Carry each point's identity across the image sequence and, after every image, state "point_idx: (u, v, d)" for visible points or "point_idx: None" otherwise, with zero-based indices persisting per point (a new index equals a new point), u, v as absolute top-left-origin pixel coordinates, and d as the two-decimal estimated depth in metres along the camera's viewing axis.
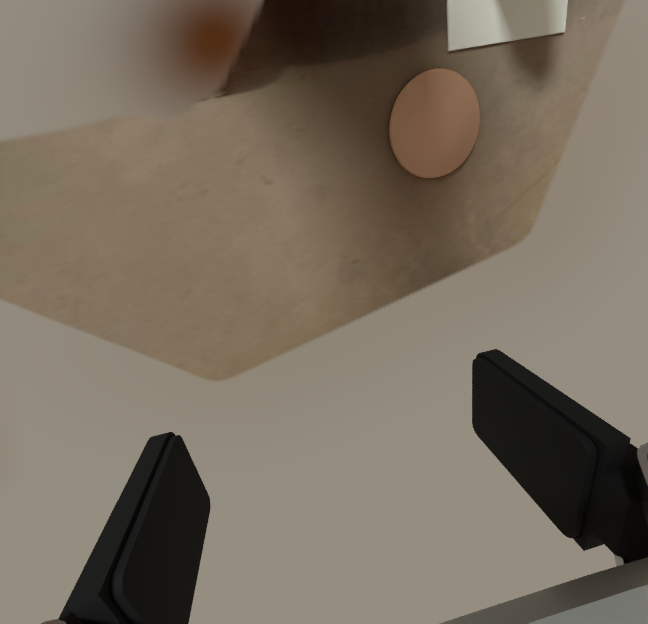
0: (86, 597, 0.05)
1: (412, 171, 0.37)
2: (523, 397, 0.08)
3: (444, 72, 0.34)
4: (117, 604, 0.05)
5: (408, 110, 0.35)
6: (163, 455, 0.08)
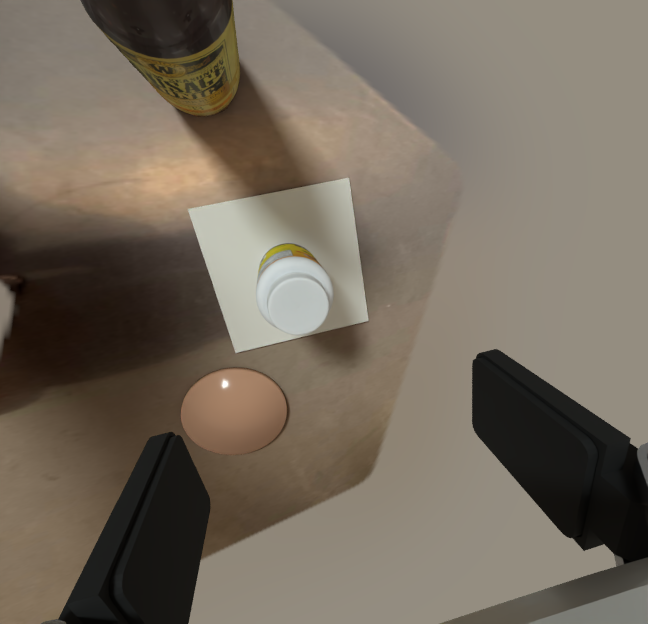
0: (86, 597, 0.05)
1: (218, 452, 0.34)
2: (523, 397, 0.08)
3: (232, 373, 0.31)
4: (117, 604, 0.05)
5: (199, 408, 0.32)
6: (163, 455, 0.08)
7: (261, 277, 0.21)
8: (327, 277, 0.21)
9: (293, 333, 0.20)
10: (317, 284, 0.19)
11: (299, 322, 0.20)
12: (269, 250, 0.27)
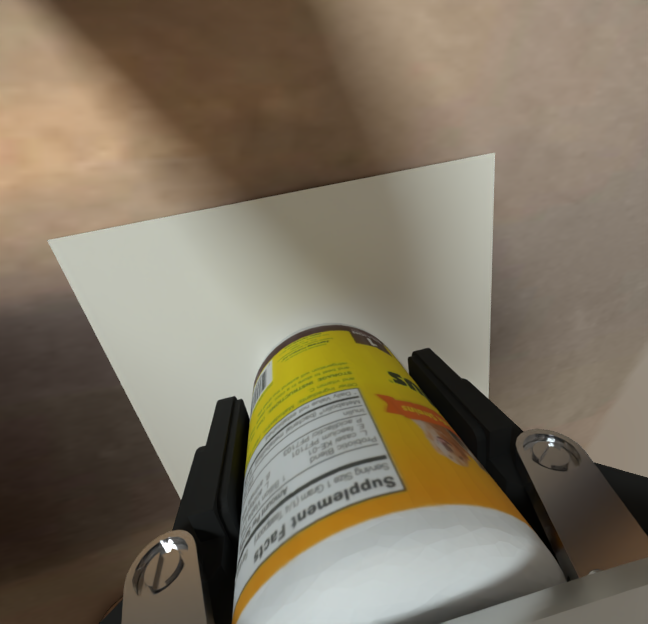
0: (202, 511, 0.06)
1: None
2: (438, 391, 0.08)
3: None
4: (223, 521, 0.06)
5: None
6: (233, 413, 0.09)
7: None
8: None
9: None
10: None
11: None
12: (281, 347, 0.10)
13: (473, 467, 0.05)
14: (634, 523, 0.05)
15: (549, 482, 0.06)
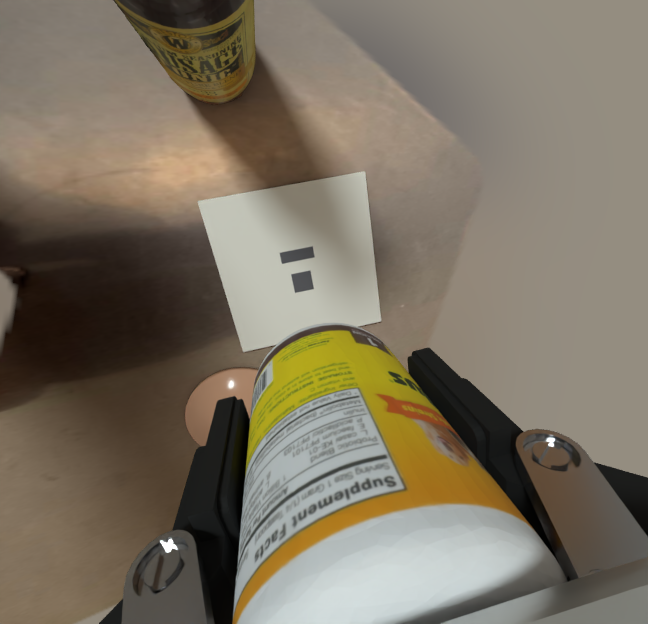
0: (202, 511, 0.06)
1: None
2: (438, 391, 0.08)
3: (239, 373, 0.30)
4: (223, 521, 0.06)
5: (204, 408, 0.31)
6: (234, 413, 0.09)
7: None
8: None
9: None
10: None
11: None
12: (281, 347, 0.10)
13: (473, 467, 0.05)
14: (634, 523, 0.05)
15: (549, 482, 0.06)
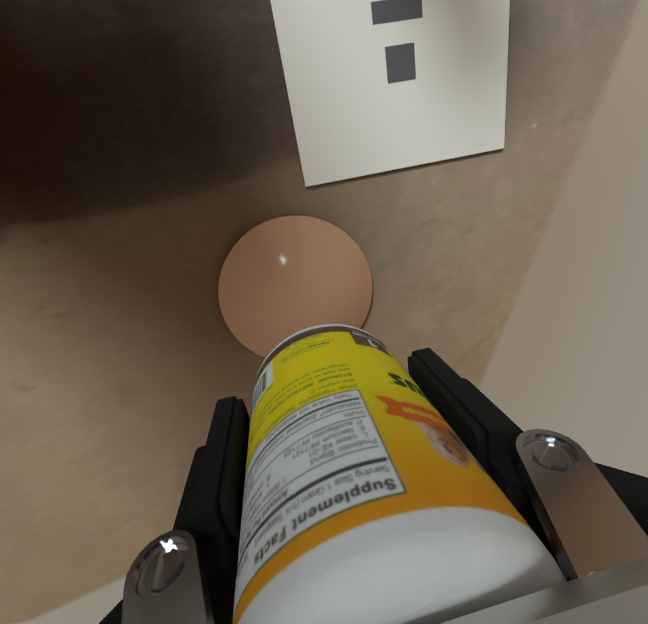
0: (202, 511, 0.06)
1: None
2: (438, 391, 0.08)
3: (300, 221, 0.20)
4: (223, 521, 0.06)
5: (246, 279, 0.21)
6: (234, 413, 0.09)
7: None
8: None
9: None
10: None
11: None
12: (281, 348, 0.10)
13: (473, 469, 0.05)
14: (634, 523, 0.05)
15: (549, 482, 0.06)
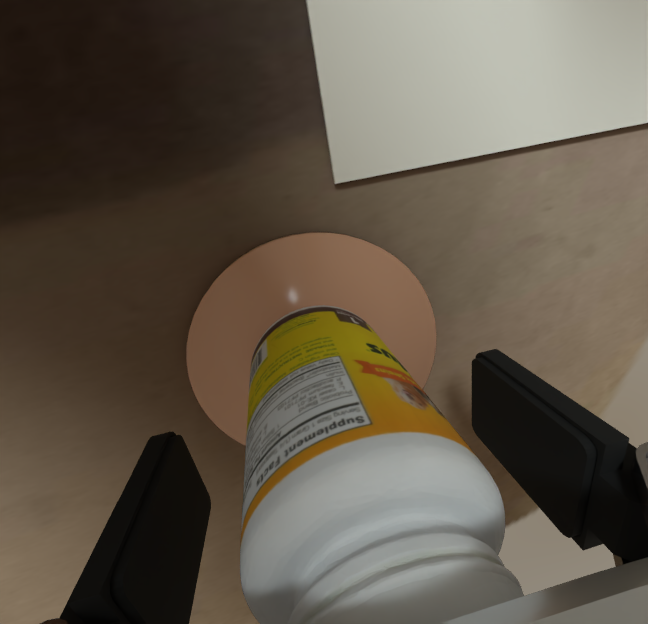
0: (87, 596, 0.05)
1: None
2: (522, 397, 0.08)
3: (324, 243, 0.12)
4: (118, 603, 0.05)
5: (234, 338, 0.13)
6: (164, 454, 0.08)
7: (258, 531, 0.05)
8: (498, 497, 0.06)
9: None
10: None
11: None
12: (274, 328, 0.11)
13: (430, 411, 0.07)
14: None
15: None
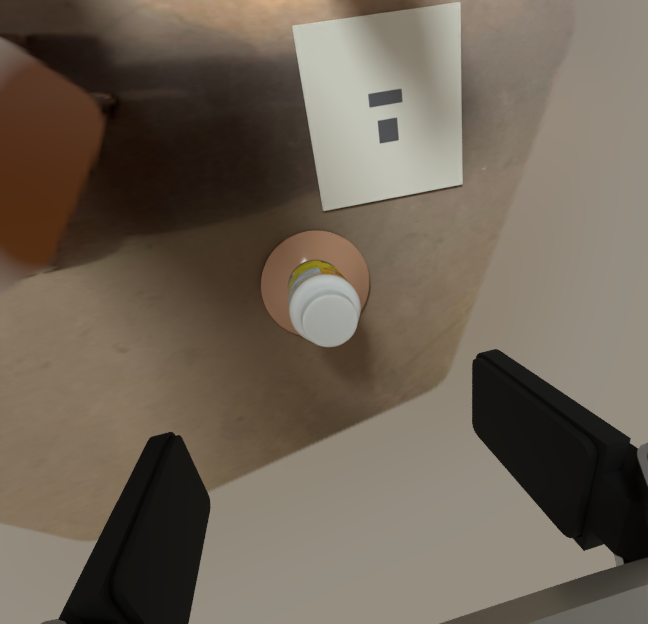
0: (86, 597, 0.05)
1: (294, 332, 0.32)
2: (523, 397, 0.08)
3: (318, 234, 0.29)
4: (117, 604, 0.05)
5: (280, 274, 0.30)
6: (163, 455, 0.08)
7: (294, 295, 0.23)
8: (354, 292, 0.23)
9: (325, 345, 0.22)
10: (346, 300, 0.21)
11: (331, 335, 0.22)
12: (297, 267, 0.29)
13: (341, 276, 0.24)
14: None
15: None
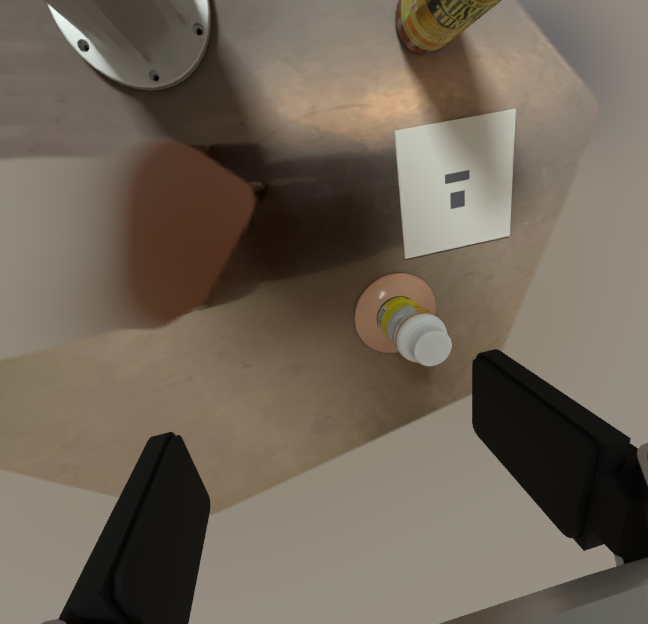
0: (86, 597, 0.05)
1: (376, 349, 0.41)
2: (523, 397, 0.08)
3: (401, 276, 0.38)
4: (117, 604, 0.05)
5: (371, 306, 0.39)
6: (163, 455, 0.08)
7: (402, 329, 0.32)
8: (444, 325, 0.32)
9: (428, 365, 0.31)
10: (445, 334, 0.30)
11: (433, 358, 0.31)
12: (386, 302, 0.38)
13: (431, 313, 0.33)
14: None
15: None
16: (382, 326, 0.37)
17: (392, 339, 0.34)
